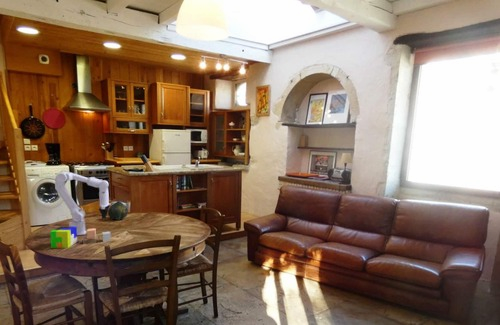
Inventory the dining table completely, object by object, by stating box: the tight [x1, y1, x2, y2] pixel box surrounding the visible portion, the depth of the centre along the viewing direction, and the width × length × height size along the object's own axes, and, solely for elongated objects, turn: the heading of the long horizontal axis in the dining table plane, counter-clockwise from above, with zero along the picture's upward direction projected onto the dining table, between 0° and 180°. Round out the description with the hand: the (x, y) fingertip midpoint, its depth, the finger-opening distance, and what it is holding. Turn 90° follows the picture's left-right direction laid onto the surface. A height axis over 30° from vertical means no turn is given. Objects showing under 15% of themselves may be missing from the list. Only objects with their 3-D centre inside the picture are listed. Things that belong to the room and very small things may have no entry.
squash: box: [107, 200, 129, 221], centre depth 242 cm, size 14×15×15 cm
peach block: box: [86, 228, 97, 239], centre depth 190 cm, size 4×4×5 cm
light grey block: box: [101, 230, 112, 243], centre depth 192 cm, size 4×4×5 cm
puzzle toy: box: [50, 226, 78, 249], centre depth 183 cm, size 10×10×10 cm
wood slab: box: [82, 234, 99, 245], centre depth 190 cm, size 7×7×3 cm
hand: (104, 216), depth 209 cm, fingers open, 7 cm apart
